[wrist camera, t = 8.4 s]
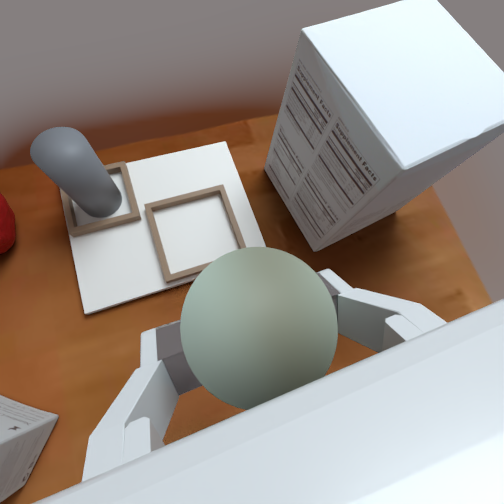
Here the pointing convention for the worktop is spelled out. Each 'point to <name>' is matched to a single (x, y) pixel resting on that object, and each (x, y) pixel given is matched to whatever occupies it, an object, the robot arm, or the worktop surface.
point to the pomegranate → (6, 225)
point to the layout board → (145, 215)
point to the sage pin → (258, 326)
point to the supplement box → (379, 115)
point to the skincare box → (20, 442)
